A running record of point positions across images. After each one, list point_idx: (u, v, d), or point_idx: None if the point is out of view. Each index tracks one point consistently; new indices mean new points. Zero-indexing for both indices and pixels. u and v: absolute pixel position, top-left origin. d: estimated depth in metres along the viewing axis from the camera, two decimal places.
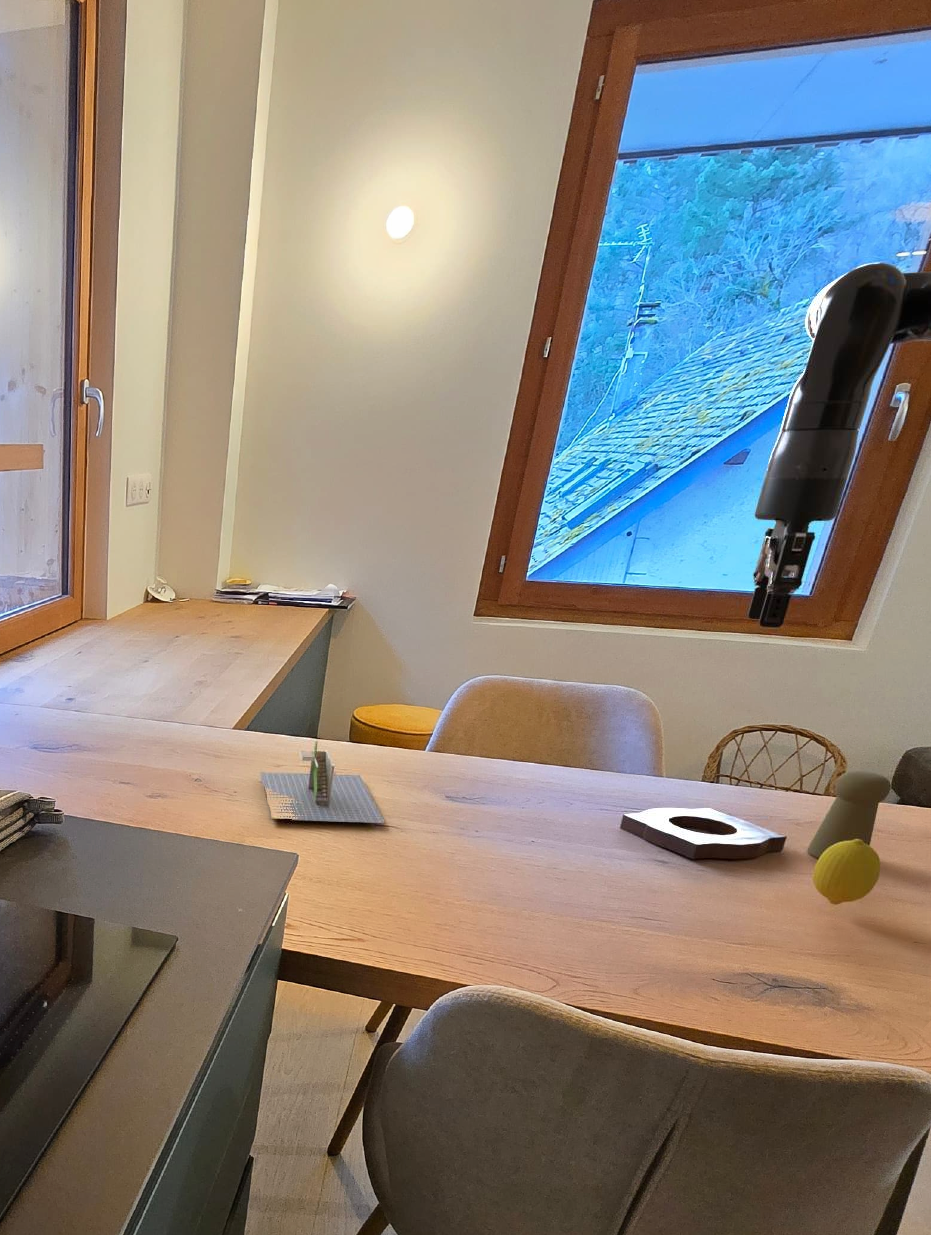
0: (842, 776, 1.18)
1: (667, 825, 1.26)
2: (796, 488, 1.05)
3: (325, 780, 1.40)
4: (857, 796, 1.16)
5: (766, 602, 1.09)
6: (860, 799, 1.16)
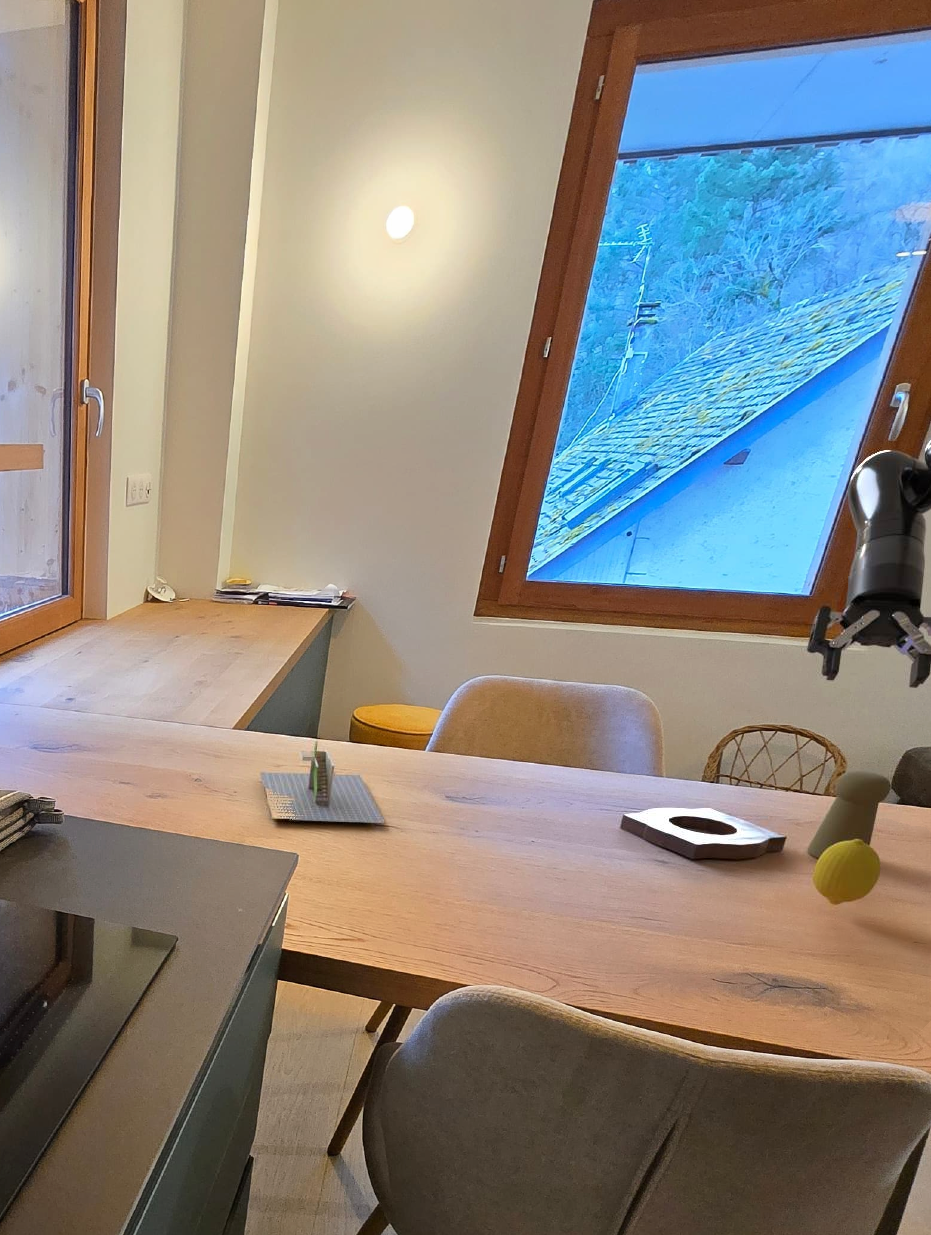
0: (842, 776, 1.18)
1: (667, 825, 1.26)
2: None
3: (325, 780, 1.40)
4: (857, 796, 1.16)
5: None
6: (860, 799, 1.16)
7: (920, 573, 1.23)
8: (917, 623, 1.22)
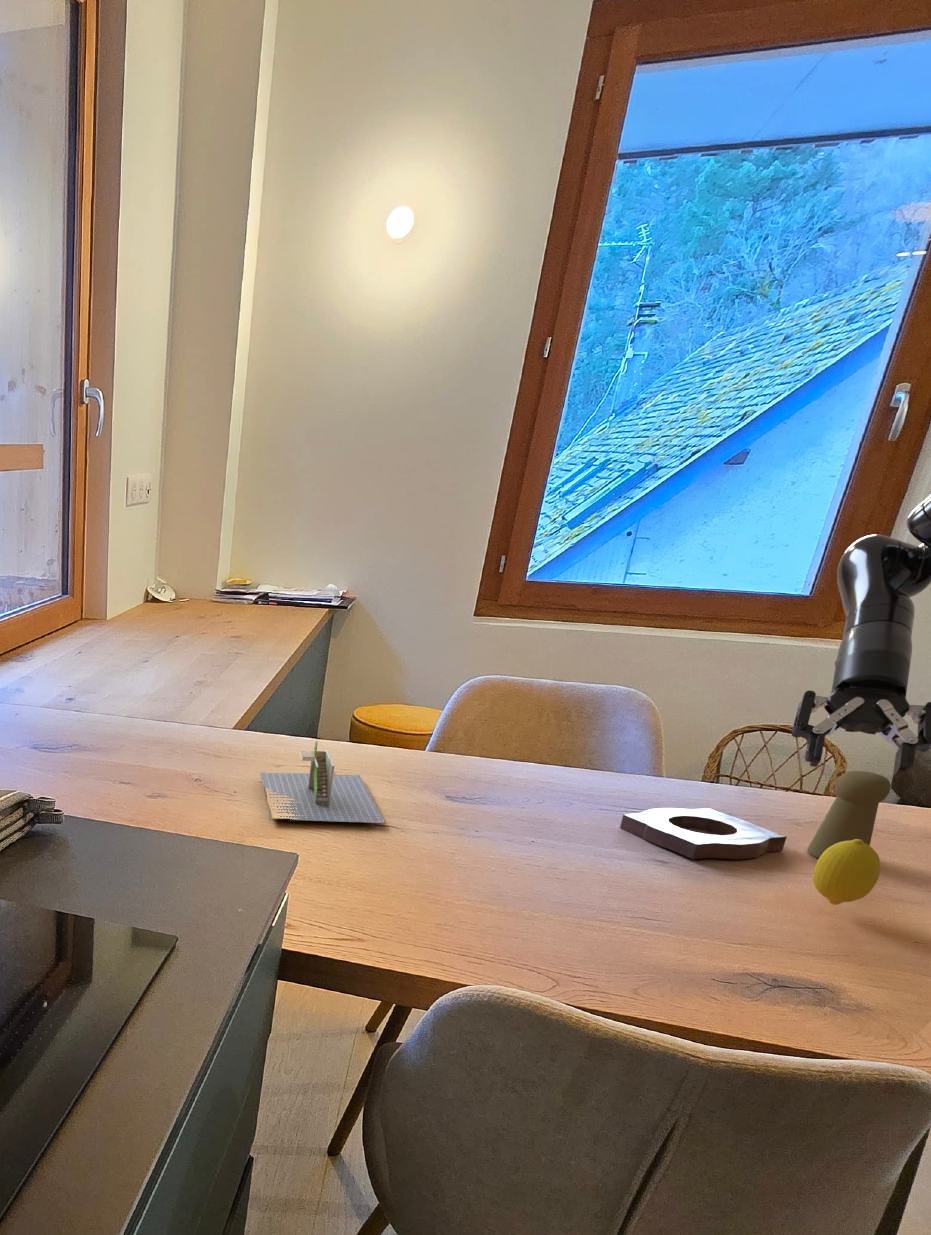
0: (842, 776, 1.18)
1: (667, 825, 1.26)
2: None
3: (325, 780, 1.40)
4: (857, 796, 1.16)
5: None
6: (860, 799, 1.16)
7: (906, 660, 1.22)
8: (902, 711, 1.21)
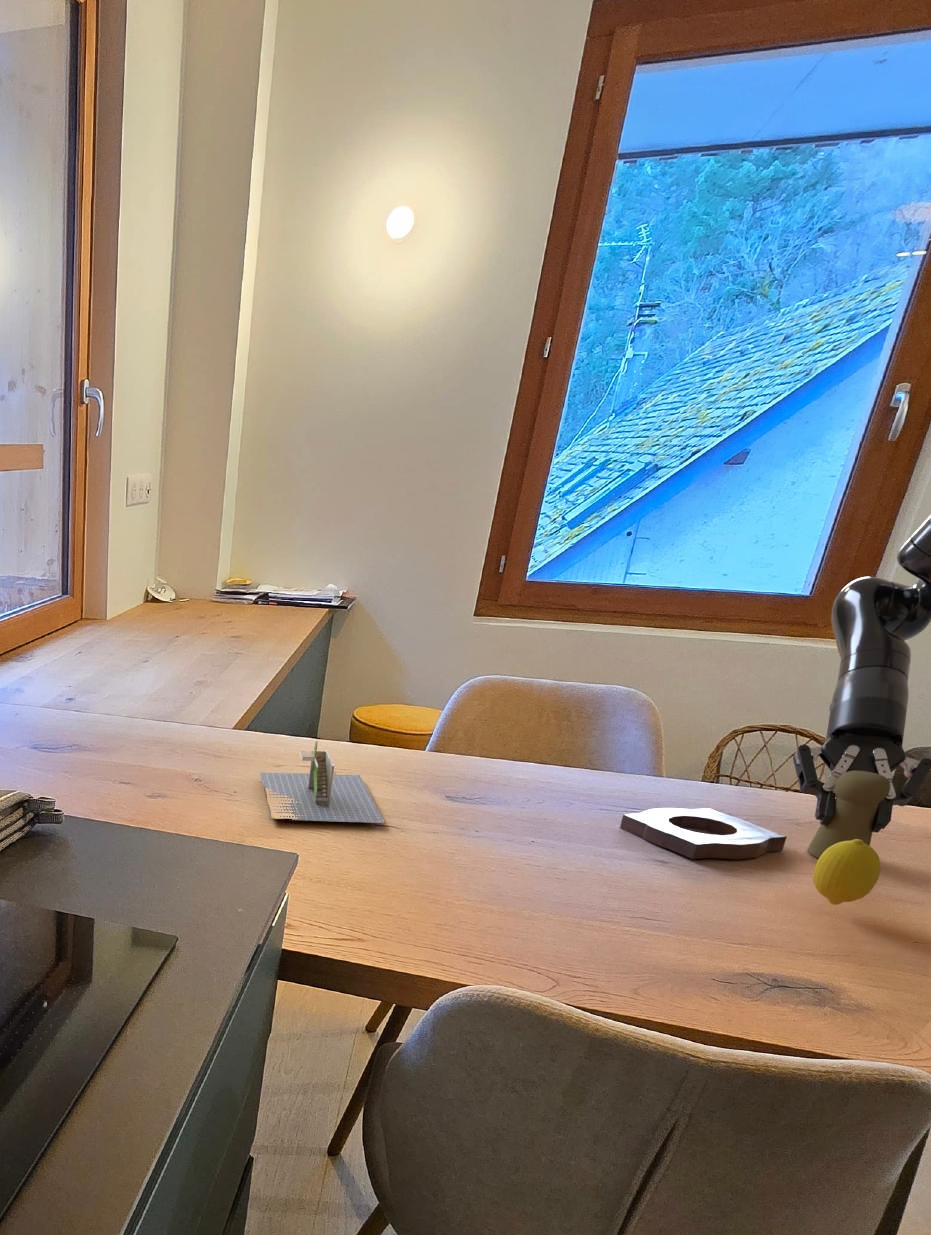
0: (842, 776, 1.18)
1: (667, 825, 1.26)
2: None
3: (325, 780, 1.40)
4: (857, 796, 1.16)
5: None
6: (860, 799, 1.16)
7: (902, 708, 1.19)
8: (898, 760, 1.18)
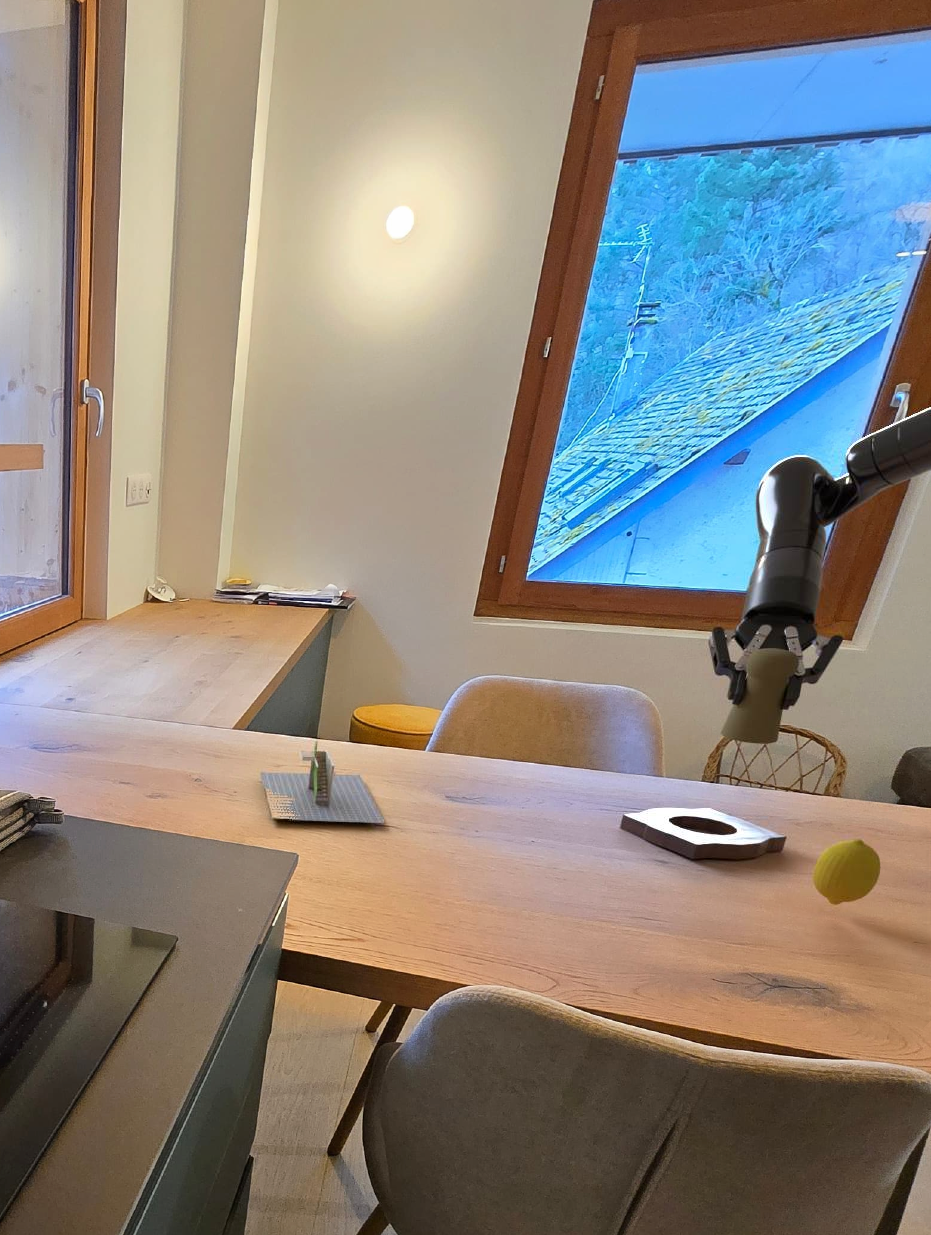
0: (752, 653, 1.17)
1: (667, 825, 1.26)
2: None
3: (325, 780, 1.40)
4: (765, 672, 1.16)
5: None
6: (769, 674, 1.15)
7: (815, 586, 1.19)
8: (809, 638, 1.18)
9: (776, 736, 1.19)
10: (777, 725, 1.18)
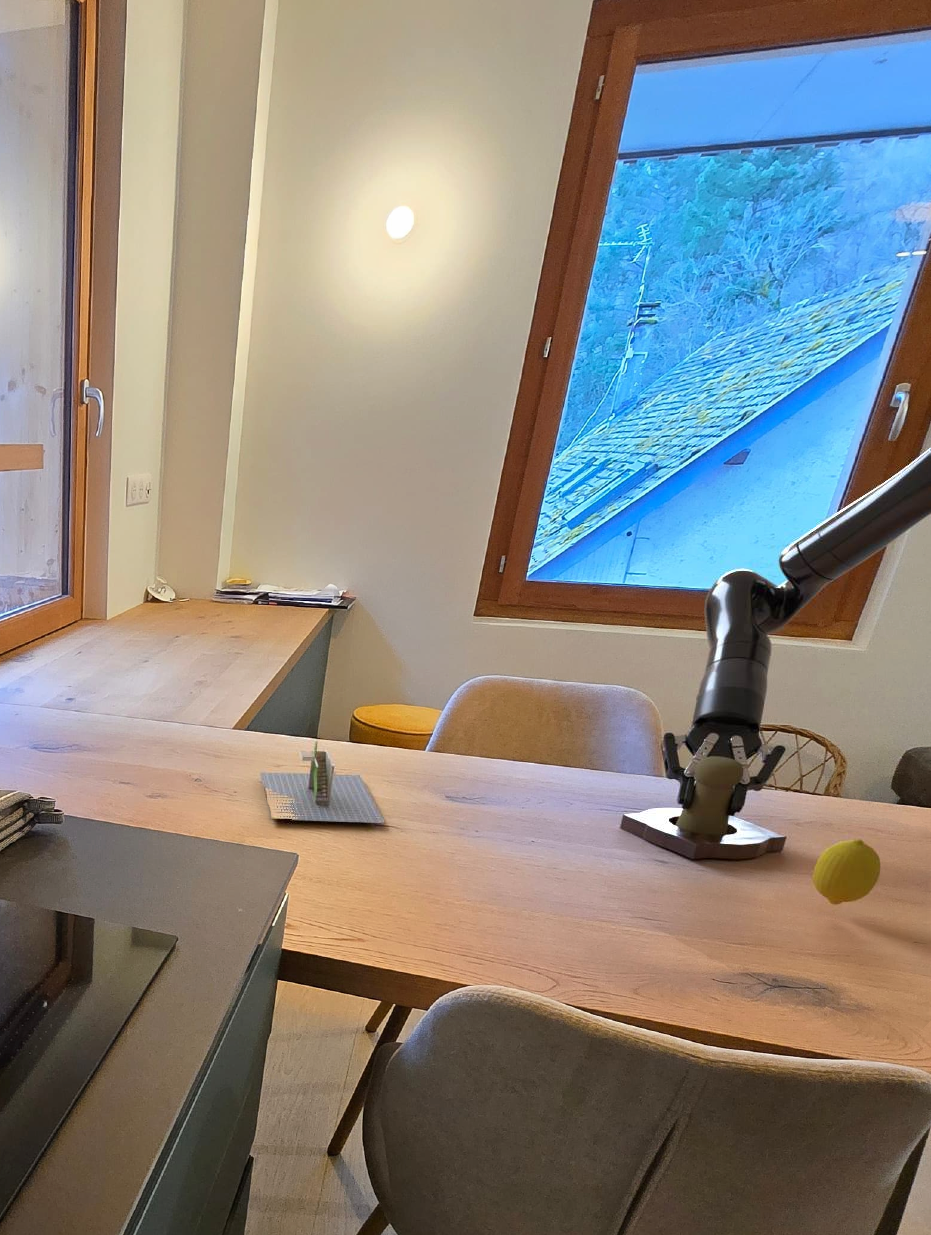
0: (700, 761, 1.24)
1: (667, 825, 1.26)
2: None
3: (325, 780, 1.40)
4: (712, 781, 1.22)
5: None
6: (715, 783, 1.22)
7: (759, 697, 1.25)
8: (754, 747, 1.24)
9: None
10: (724, 829, 1.24)
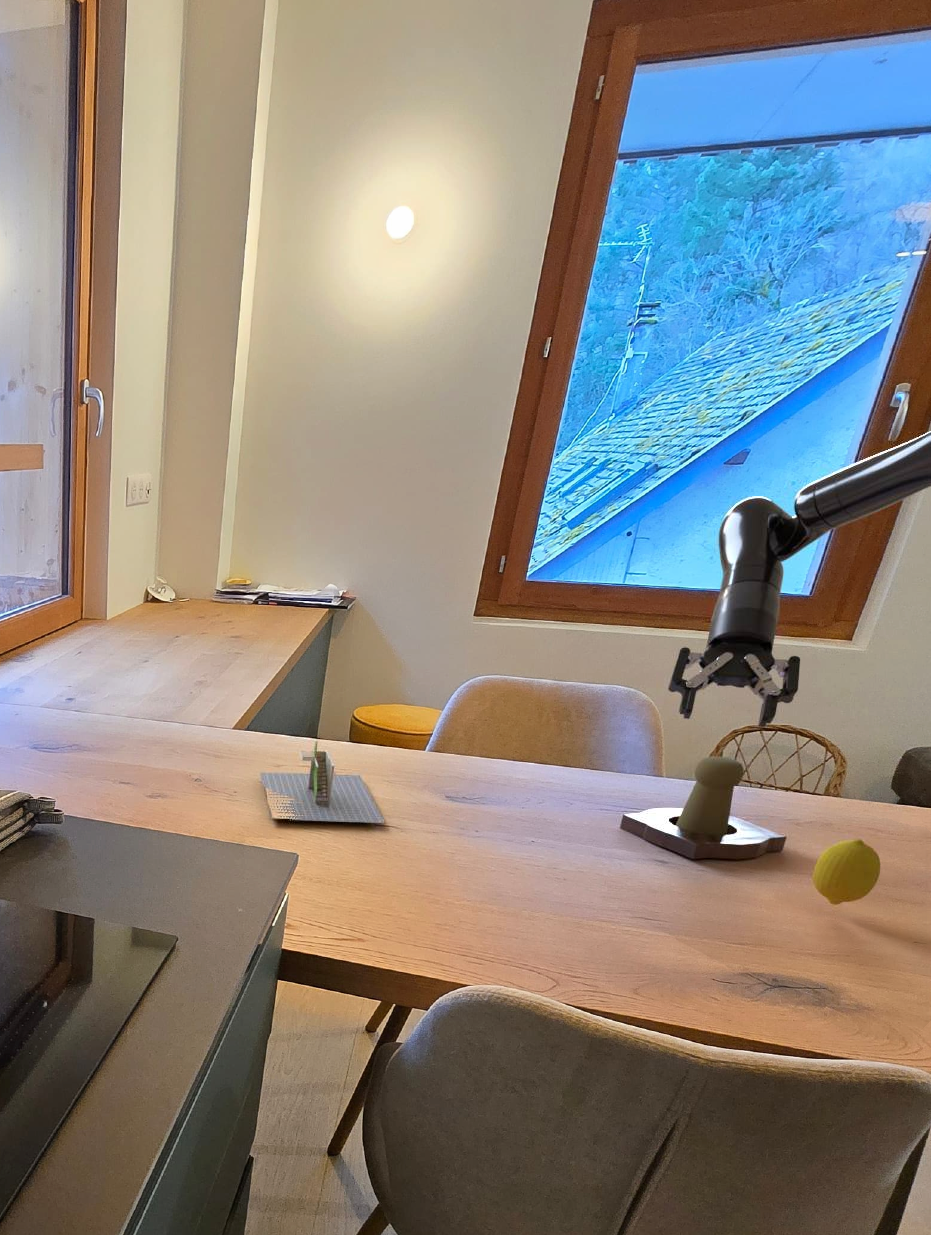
0: (700, 761, 1.24)
1: (667, 825, 1.26)
2: None
3: (325, 780, 1.40)
4: (712, 780, 1.22)
5: None
6: (715, 783, 1.22)
7: (772, 617, 1.29)
8: (767, 665, 1.28)
9: None
10: (724, 829, 1.24)
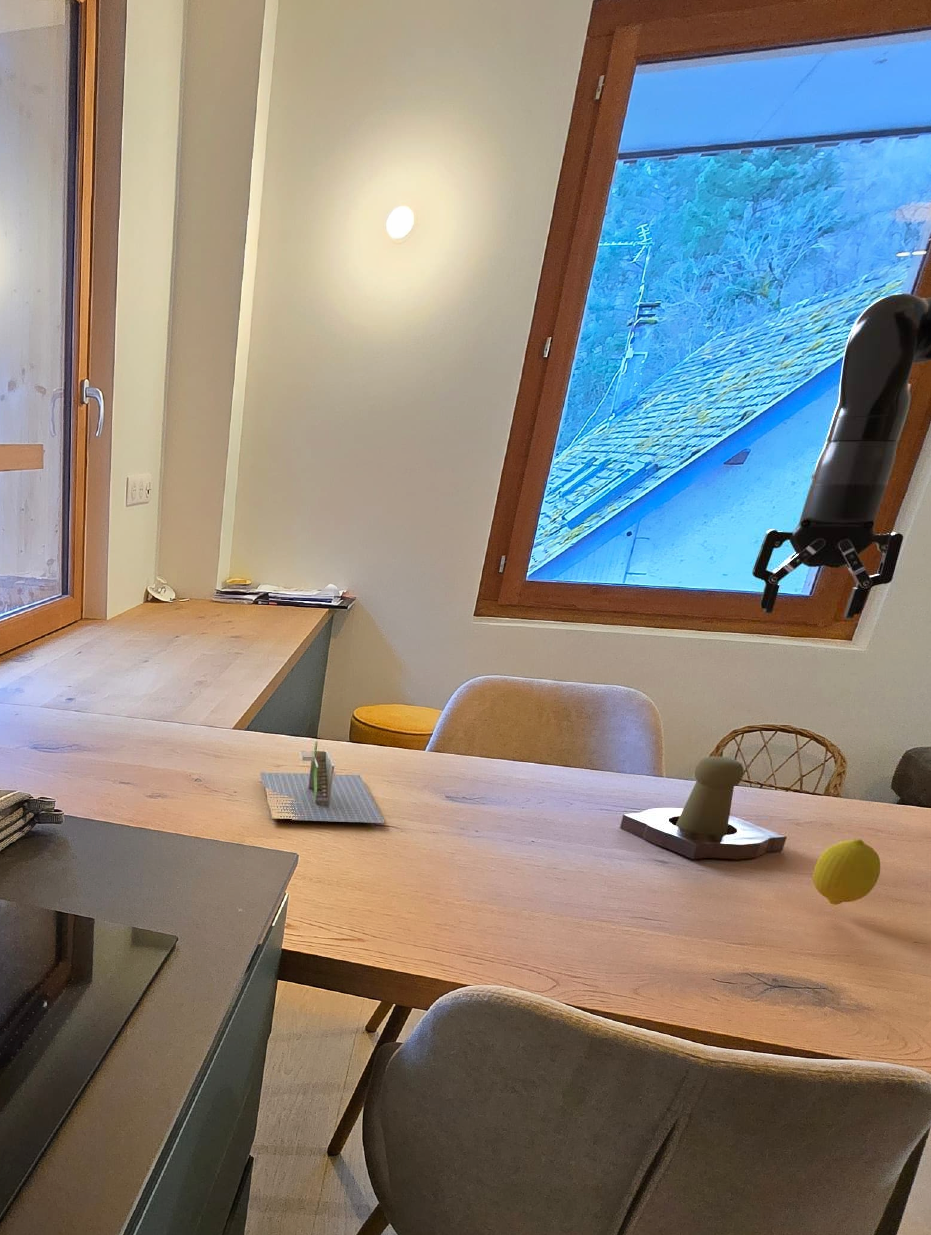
0: (700, 761, 1.24)
1: (667, 825, 1.26)
2: None
3: (325, 780, 1.40)
4: (712, 780, 1.22)
5: None
6: (715, 783, 1.22)
7: (879, 488, 1.15)
8: (864, 547, 1.19)
9: None
10: (724, 829, 1.24)
